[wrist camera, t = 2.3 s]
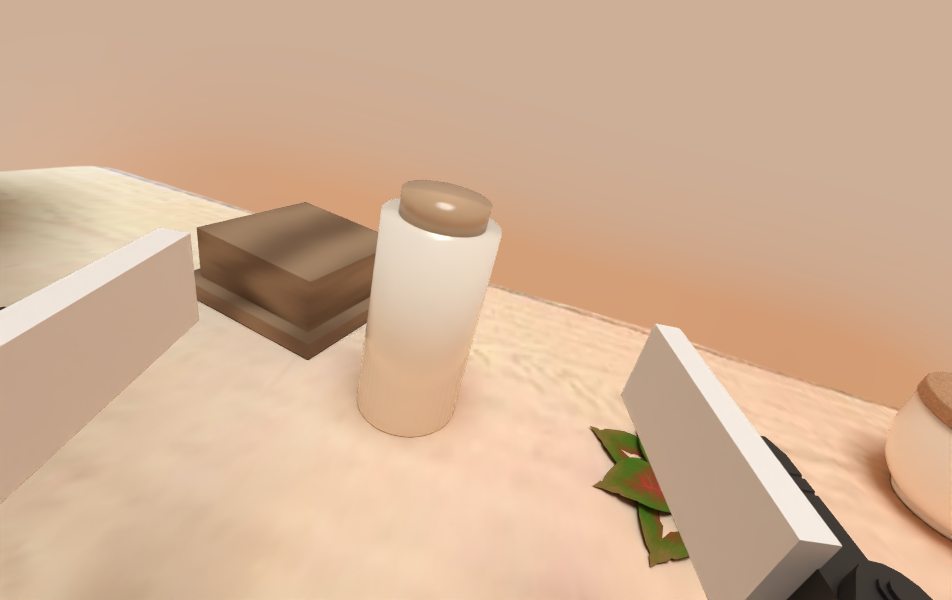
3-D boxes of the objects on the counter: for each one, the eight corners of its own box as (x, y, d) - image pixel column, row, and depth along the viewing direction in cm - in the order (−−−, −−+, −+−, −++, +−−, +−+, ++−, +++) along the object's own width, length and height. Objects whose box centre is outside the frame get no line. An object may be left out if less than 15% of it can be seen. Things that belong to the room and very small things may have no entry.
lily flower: (842, 606, 22) (904, 554, 20) (630, 607, 20) (674, 548, 18) (709, 428, 33) (741, 381, 30) (559, 414, 30) (581, 362, 28)
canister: (335, 404, 26) (357, 184, 19) (394, 357, 31) (426, 169, 25) (422, 454, 24) (476, 230, 18) (469, 395, 29) (524, 204, 23)
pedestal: (179, 290, 32) (172, 225, 30) (303, 247, 42) (305, 196, 40) (308, 359, 29) (311, 293, 26) (409, 294, 39) (418, 242, 36)
